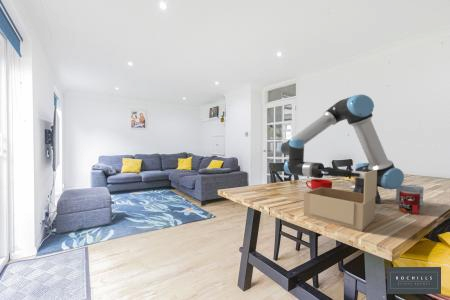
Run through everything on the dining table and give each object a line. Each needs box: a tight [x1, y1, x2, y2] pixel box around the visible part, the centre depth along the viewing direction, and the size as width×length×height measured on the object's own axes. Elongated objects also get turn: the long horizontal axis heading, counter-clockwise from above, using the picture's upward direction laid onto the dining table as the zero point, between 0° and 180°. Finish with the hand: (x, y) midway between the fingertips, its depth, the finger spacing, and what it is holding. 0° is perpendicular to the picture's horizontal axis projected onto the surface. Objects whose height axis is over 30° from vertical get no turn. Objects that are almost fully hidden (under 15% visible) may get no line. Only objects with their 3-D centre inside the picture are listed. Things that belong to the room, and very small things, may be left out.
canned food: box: [398, 189, 421, 215], centre depth 107 cm, size 8×8×11 cm
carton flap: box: [364, 169, 377, 204], centre depth 88 cm, size 12×19×1 cm
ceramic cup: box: [305, 178, 333, 190], centre depth 140 cm, size 13×17×10 cm
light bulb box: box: [395, 184, 424, 206], centre depth 123 cm, size 11×7×11 cm, turn 84°
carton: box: [302, 187, 376, 232], centre depth 97 cm, size 24×21×11 cm
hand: (369, 175), depth 87 cm, fingers closed
